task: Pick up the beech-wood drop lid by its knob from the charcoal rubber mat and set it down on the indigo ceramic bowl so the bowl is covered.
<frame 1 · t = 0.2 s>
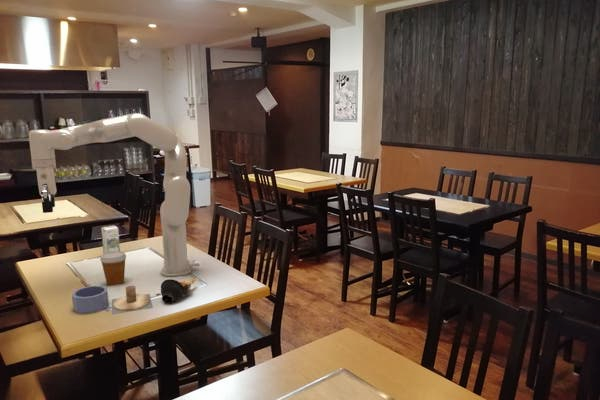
hand: (49, 209, 168), 31 cm above the table, tool pointing down, fingers open, 9 cm apart
lid: (131, 303, 158), point 1 cm above the table, touching mat
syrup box: (112, 257, 211), on the table
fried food: (181, 297, 166), on the table
bowl: (91, 307, 156), on the table
mat: (131, 305, 158), on the table
disposable coffee cup: (115, 284, 178), on the table
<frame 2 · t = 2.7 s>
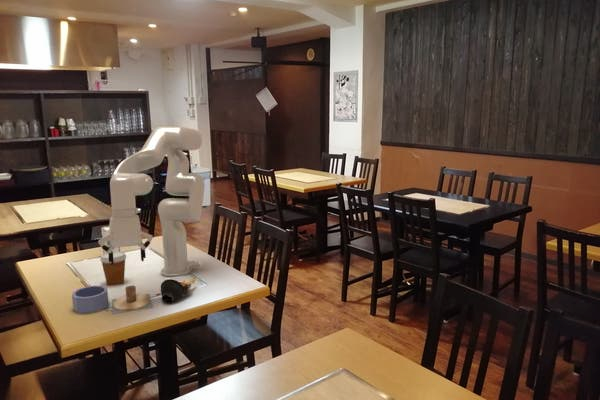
hand: (127, 261, 155), 16 cm above the table, tool pointing down, fingers open, 9 cm apart
nothing on the table moved.
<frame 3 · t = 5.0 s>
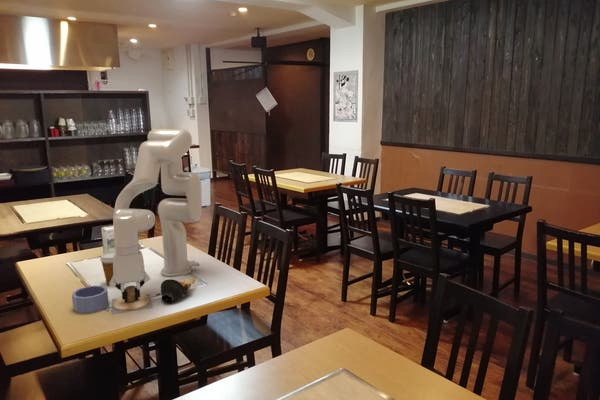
hand: (131, 299, 158), 2 cm above the table, tool pointing down, fingers closed on lid, 3 cm apart
lid: (131, 303, 158), point 1 cm above the table, touching gripper, mat
everything else where it was.
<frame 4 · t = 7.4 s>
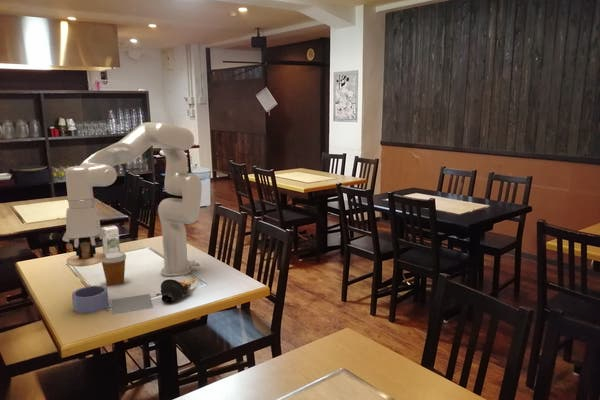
hand: (86, 256, 153), 19 cm above the table, tool pointing down, fingers closed on lid, 3 cm apart
lid: (86, 260, 153), point 17 cm above the table, touching gripper
everything else where it was.
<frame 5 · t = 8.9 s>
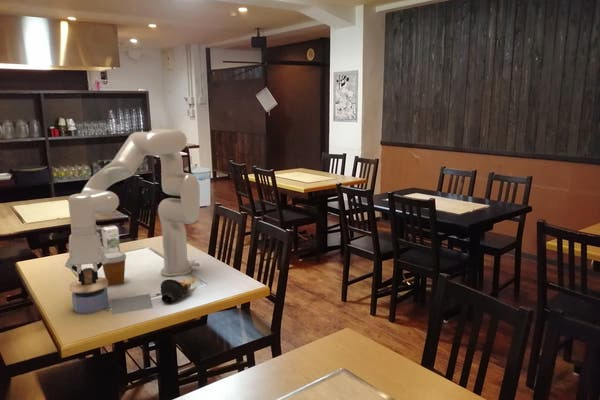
hand: (88, 282, 154), 9 cm above the table, tool pointing down, fingers closed on lid, 3 cm apart
lid: (89, 286, 155), point 8 cm above the table, touching gripper
everything else where it was.
when the fingers open (9 cm above the table, at t = 9.7 s): lid drops 1 cm, resting on bowl.
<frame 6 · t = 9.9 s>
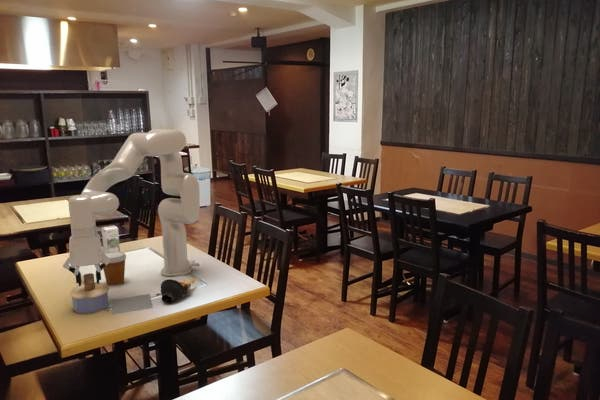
hand: (89, 283, 155), 9 cm above the table, tool pointing down, fingers open, 5 cm apart
lid: (90, 291, 155), point 6 cm above the table, touching bowl
everything else where it was.
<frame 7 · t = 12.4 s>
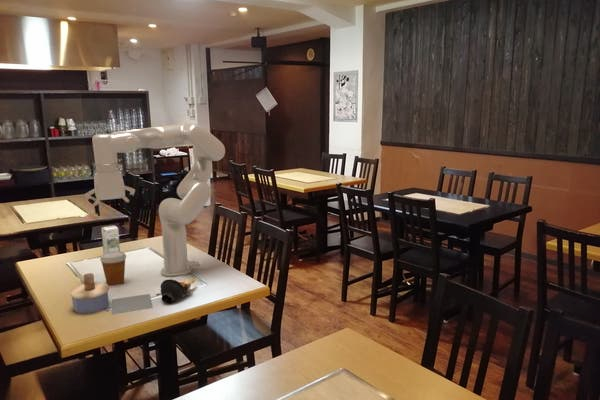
hand: (112, 213, 168), 29 cm above the table, tool pointing down, fingers open, 9 cm apart
nothing on the table moved.
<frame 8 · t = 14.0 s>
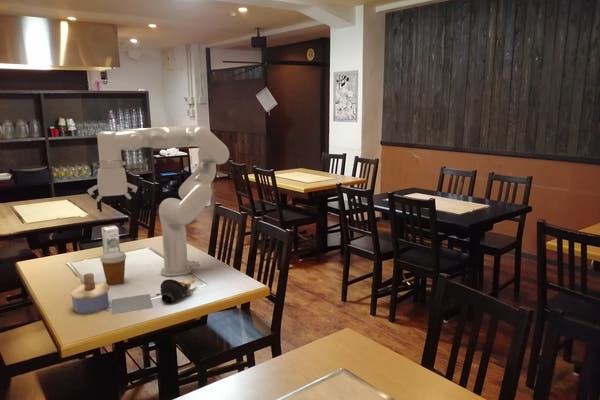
hand: (114, 210, 170), 30 cm above the table, tool pointing down, fingers open, 9 cm apart
nothing on the table moved.
at the end: lid 0.1 cm off-centre on the bowl, point 6.0 cm above the bowl's base; lid tilted 0°; the gripper is holding nothing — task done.
